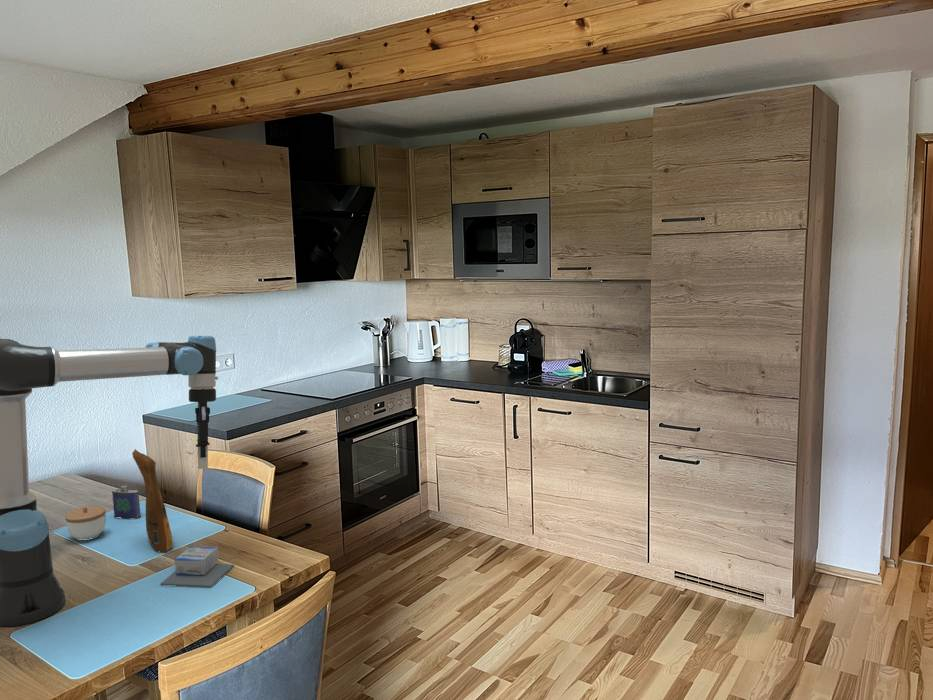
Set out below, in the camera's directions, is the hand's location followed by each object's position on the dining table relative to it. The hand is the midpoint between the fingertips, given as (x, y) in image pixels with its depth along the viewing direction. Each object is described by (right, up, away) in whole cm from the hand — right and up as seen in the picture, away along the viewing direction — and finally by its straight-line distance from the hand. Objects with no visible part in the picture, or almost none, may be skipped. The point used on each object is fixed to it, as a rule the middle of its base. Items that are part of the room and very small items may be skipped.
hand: (202, 468), depth 204 cm
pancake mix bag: (-13, -23, 0) cm, 26 cm away
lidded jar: (-38, -22, +7) cm, 44 cm away
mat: (+7, -25, -21) cm, 33 cm away
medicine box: (+6, -21, -14) cm, 26 cm away
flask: (-33, -20, +22) cm, 45 cm away
